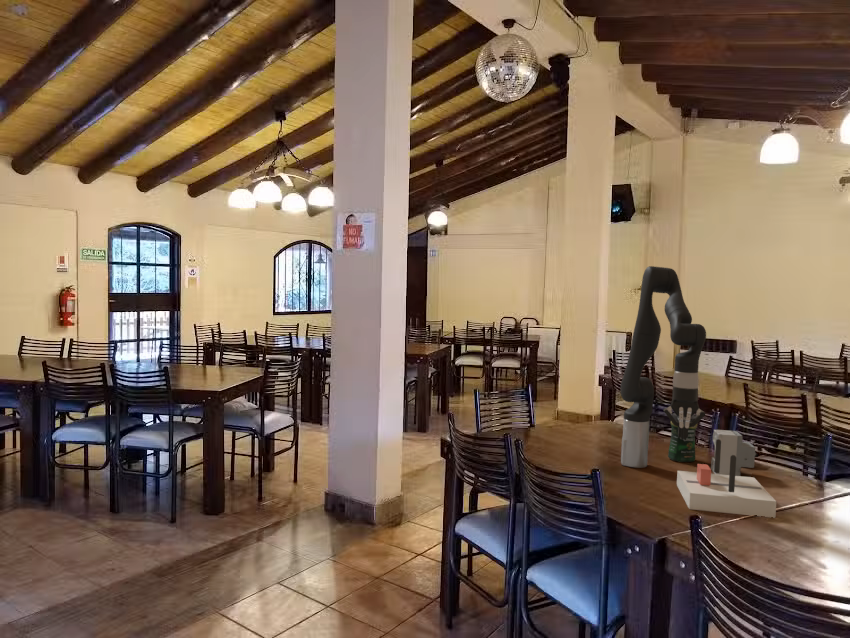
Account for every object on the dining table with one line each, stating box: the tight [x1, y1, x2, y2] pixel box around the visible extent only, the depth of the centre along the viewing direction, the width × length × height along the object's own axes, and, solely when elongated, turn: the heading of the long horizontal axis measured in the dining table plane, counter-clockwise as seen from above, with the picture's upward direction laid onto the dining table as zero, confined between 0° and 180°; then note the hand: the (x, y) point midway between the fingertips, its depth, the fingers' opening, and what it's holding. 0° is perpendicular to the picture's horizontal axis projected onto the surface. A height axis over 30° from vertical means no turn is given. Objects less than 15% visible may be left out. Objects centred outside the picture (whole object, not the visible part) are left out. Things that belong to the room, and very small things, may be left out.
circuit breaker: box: [710, 429, 759, 476], centre depth 233 cm, size 8×14×15 cm, turn 78°
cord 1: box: [713, 439, 721, 474], centre depth 212 cm, size 2×2×11 cm
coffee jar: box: [667, 412, 698, 463], centre depth 249 cm, size 10×8×19 cm
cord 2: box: [728, 455, 736, 492], centre depth 193 cm, size 2×2×11 cm
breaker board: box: [676, 470, 777, 519], centre depth 203 cm, size 24×24×5 cm
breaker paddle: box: [696, 463, 712, 485], centre depth 204 cm, size 3×6×5 cm, turn 167°
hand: (682, 438), depth 205 cm, fingers closed
